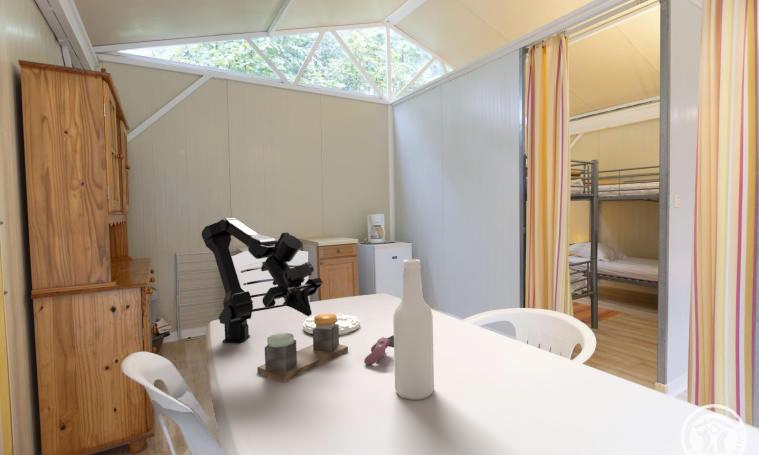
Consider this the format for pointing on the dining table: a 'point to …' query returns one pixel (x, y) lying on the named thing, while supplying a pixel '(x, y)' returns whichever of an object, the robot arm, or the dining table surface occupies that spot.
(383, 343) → the video game controller
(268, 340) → the pale green rounded piece
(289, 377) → the button board
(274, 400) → the dining table surface
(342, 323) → the giant coin
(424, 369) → the alcohol
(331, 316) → the orange button
